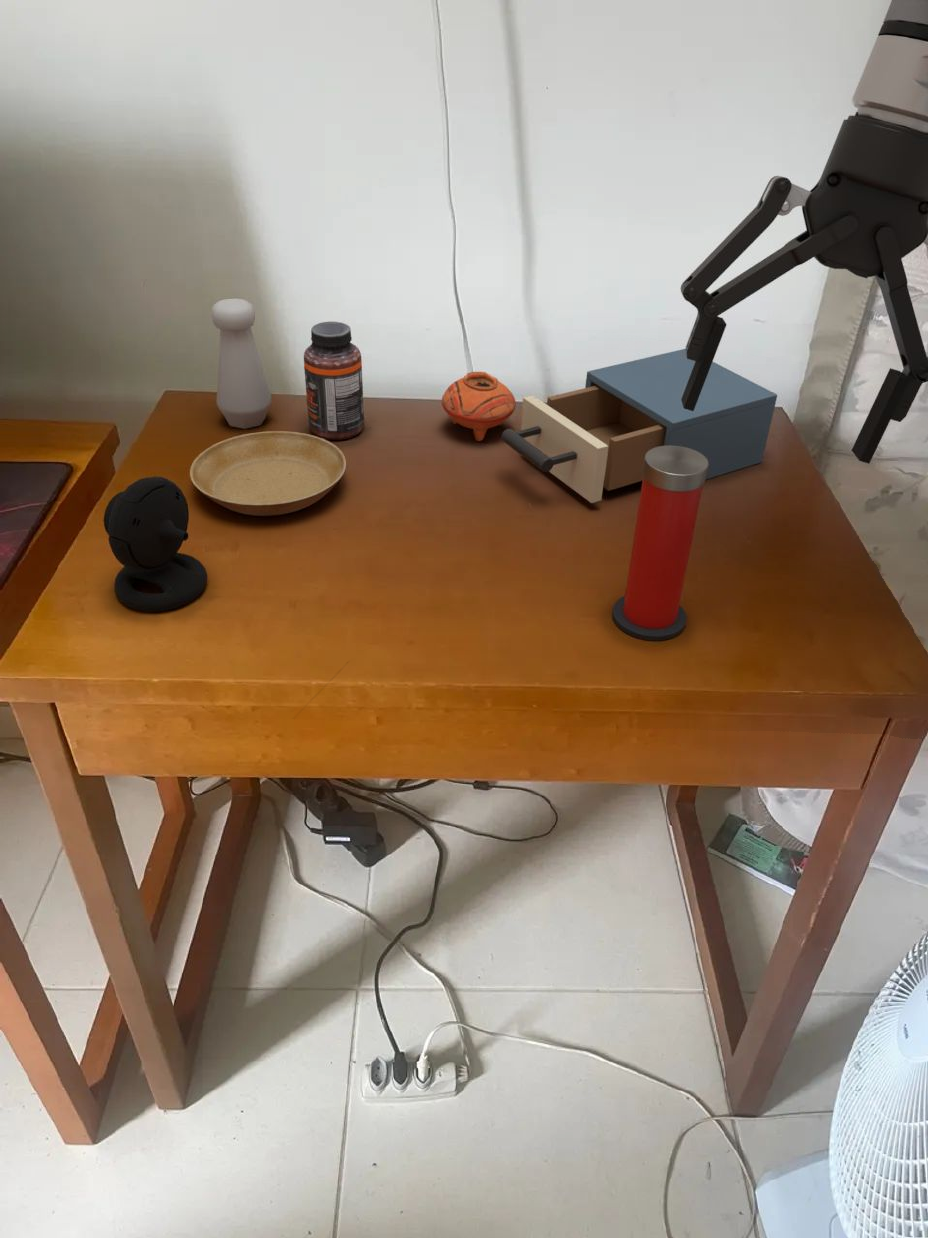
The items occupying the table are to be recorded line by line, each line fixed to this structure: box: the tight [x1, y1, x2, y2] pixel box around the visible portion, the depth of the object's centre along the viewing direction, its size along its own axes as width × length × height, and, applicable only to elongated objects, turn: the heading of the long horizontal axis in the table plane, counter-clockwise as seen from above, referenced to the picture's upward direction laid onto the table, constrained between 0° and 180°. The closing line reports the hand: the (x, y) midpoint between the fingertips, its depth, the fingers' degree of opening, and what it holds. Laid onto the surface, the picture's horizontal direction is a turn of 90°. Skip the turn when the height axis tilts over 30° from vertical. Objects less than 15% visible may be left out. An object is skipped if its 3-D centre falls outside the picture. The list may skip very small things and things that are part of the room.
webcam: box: [103, 475, 208, 612], centre depth 79 cm, size 8×8×10 cm
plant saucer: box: [189, 430, 347, 517], centre depth 95 cm, size 15×15×3 cm
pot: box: [441, 371, 517, 442], centre depth 105 cm, size 8×8×7 cm
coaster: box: [611, 595, 688, 642], centre depth 80 cm, size 6×6×1 cm
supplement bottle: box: [303, 320, 365, 441], centre depth 103 cm, size 6×6×11 cm
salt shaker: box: [211, 298, 272, 430], centre depth 103 cm, size 6×6×13 cm
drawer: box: [501, 385, 667, 504], centre depth 97 cm, size 17×12×6 cm
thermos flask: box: [623, 445, 708, 629], centre depth 76 cm, size 5×5×14 cm
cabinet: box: [584, 348, 778, 480], centre depth 102 cm, size 14×14×8 cm
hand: (773, 431), depth 74 cm, fingers open, 13 cm apart
